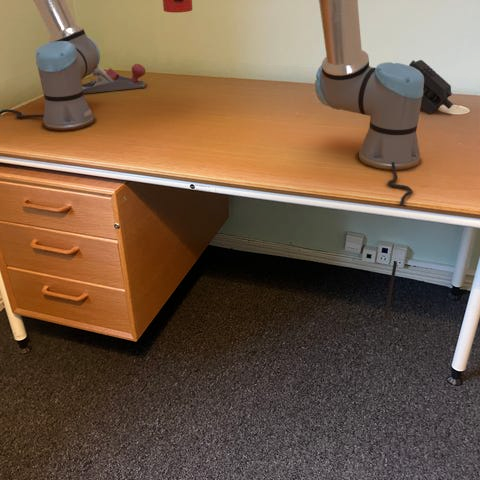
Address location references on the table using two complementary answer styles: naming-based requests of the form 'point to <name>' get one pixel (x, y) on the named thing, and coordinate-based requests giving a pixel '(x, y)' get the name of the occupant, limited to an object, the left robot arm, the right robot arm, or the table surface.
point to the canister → (177, 6)
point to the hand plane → (114, 80)
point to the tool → (433, 88)
